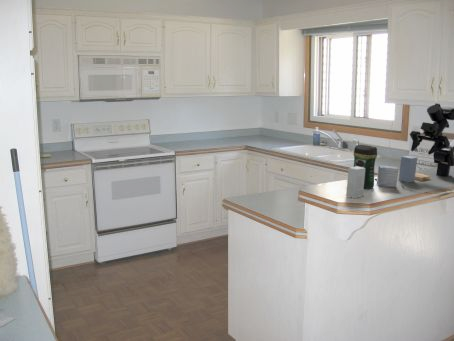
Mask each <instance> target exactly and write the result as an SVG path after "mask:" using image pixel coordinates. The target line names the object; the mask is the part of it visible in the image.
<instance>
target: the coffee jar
mask: <svg viewBox="0 0 454 341" xmlns="http://www.w3.org/2000/svg"><path fill="white" fill-rule="evenodd" d="M377 157H378V148H377V146H376V147H375V146H372V145H368V144H367V145H366V144H357V145H355V147H354V150H353V158H354V160H353V167H356V166H359V167H363V168H365V178H364V188H363V190H364V189H365V190H366V189H368V190H370V189H373V188H374V186H375V165H376V164H375V163H376V159H377Z"/></svg>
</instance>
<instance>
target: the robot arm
mask: <svg viewBox="0 0 454 341" xmlns="http://www.w3.org/2000/svg"><path fill="white" fill-rule="evenodd" d="M426 113H427V114H428V116H429V118H430V120H431V121H432V122H433V123H430V122H425V121H423V122H422V123H421V126H420V128H419V129H421V130H422V132H423V134H421V132H420V131H417V130H412V131H410V133H409V136H410V138H411V140H412V143H411V148H410V151H411V152H413V151H415V150H416V149H417V148H418V147H419V146H420V145H421V143H422V142H423V140H424V141H428V142H432V143H433V145H432V146H431V148H429V151H427V152H428V153H427V154H428V155H432V154H433V163H434V164H437V168H436V172H435V175H436V176H438V177H451V178H452V177H453V176H452V175H450V173H451V167H454V139H453V140H452V141H450V140H449V138H448V136H447V135H446V136H445V135H443V132H444V130H445V129H449V128H450V124H449V121H454V107H445V106H442V107H441V104H440V103H437V102H436V103H435V104H433V105H430V106H429V107H428V108H427V109H426Z"/></svg>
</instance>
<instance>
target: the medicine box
mask: <svg viewBox="0 0 454 341" xmlns="http://www.w3.org/2000/svg"><path fill="white" fill-rule="evenodd" d="M399 171H400V168H398V167H397V166H390V165H378V170H377V178H376V185H377V186H378V187H386V188H387V187H388V188H397V184H398V178H399Z"/></svg>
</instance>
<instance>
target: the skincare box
mask: <svg viewBox="0 0 454 341" xmlns="http://www.w3.org/2000/svg"><path fill="white" fill-rule="evenodd" d="M364 178H365V168H363V167H359V166H356V167H354V166H351V167H348V170H347V180H346V183H347V184H346V193H345V196H346V197H347V196H349V197H348V198H351V197H352V198H351V199H357V197H358V198H361V197H363V196H364V189H363V188H364Z"/></svg>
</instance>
